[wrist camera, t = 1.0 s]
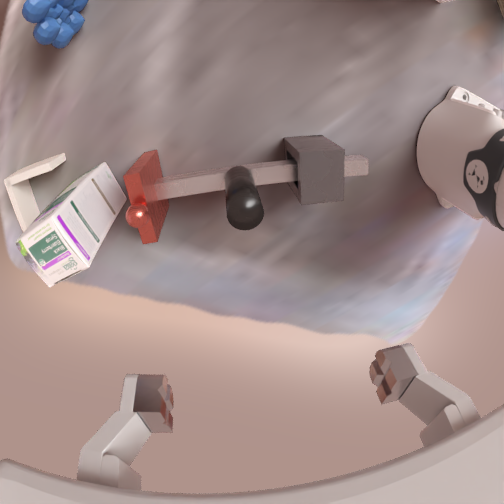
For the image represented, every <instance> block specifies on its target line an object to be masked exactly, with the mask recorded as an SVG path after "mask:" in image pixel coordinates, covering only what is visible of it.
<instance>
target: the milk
mask: <svg viewBox="0 0 504 504" xmlns="http://www.w3.org/2000/svg"><path fill="white" fill-rule="evenodd" d="M436 1H438V2H439V3H444V2H449V1H454V0H436Z"/></svg>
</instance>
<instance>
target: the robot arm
mask: <svg viewBox="0 0 504 504" xmlns="http://www.w3.org/2000/svg"><path fill="white" fill-rule="evenodd" d="M417 163H418V168H419V171H420V174H421V176H422V178H423V180H424V181H425V183H426V184H427V185H428V186H429V187H430V188H431V189H432V190H433V191H434V192H435V193H436V195H437V198H438V201H439V203H440V205H441V206H443V207H444V208H451V207H454V206H455V207H456V208H458V209H460V210H461V211H463V212H464V213H466V214H467V215H469V216H470V217H472V218H474V219H476V220H478V219H479V218H486V219H487V220H488V222H490V223H491V224H492V225H493V226H495V227H498V228H499V229H501V230H502V231H504V110H503V109H498V108H497V107H495V106H494V105H492V104H490V103H489V102H487V101H485V100H483V99H482V98H480V97H478V96H476V95H474V94H473V93H471V92H469V91H467V90H465V89H463V88H461V87H459V86H453V87H452V88H451V89H450V90H449V92H448V94H447V96H446V98H445V99H444V100H443V101H442V102H441V103H440V104H438V105H437V106H436V107H435V108H433V109H432V110H431V112H430V113H429V114H428V115H427V117H426V119H425V120H424V122H423V124H422V127H421V129H420V132H419V136H418V142H417ZM375 357H376V359H375V360H374V361H373V362H372V363H371V366H370V378H371V380H372V383H373V384H374V385H376V386H377V387H378V388H377V391H376V392H377V395H378V397H379V399H380V402H381V404H385V403H389V402H393V401H397V400H399V402H400V403H402V404H403V405H404V406H405V407H406V408H408V409H409V410H410V411H411V412H412V413H413V414H415V415H416V416H417V417H418V418H419V419H421V420H422V421H423V422H424V423H425V424H426V425H428V426H427V427H426V428H425V429H424V430H423V431H421V433H420V438H421V440H422V442H423V445H424V447H423V448H421V449H418V450H416V451H413V452H411V453H408V454H406V455H403V456H401V457H398V458H395V459H393V460H390V461H387V462H384V463H382V464H378V465H376V466H373V467H369V468H366V469H363V470H359V471H356V472H352V473H349V474H345V475H341V476H337V477H333V478H329V479H325V480H320V481H315V482H311V483H305V484H300V485H294V486H289V487H283V488H275V489H267V490H258V491H248V492H235V493H213V494H183V493H163V492H149V491H141V476H140V475H139V474H138V473H137V472H136V471H134V470H133V469H132V468H131V467H129V466H130V465H131V463H132V462H133V460H134V459H135V457H136V456H137V454H138V453H139V452H140V450H141V449H142V447H143V446H144V444H145V443H146V441H147V440H148V438H149V437H150V435H151V433H153V432H154V433H172V429H173V428H172V427H173V417H172V415H171V413H170V411H171V410H172V409H173V393H172V389H171V386H170V385H168V384H167V383H168V379H167V377H166V375H140V374H127V375H126V376H125V378H124V384H123V389H122V395H121V401H120V408H119V411H115V412H114V413H113V414H112V416H111V417H110V418H109V419H108V420H107V421H106V422H105V423H104V424H103V425H102V427H101V428H100V429H99V430H98V431H97V432H96V433H95V434H94V436H93V437H92V438H91V439H90V440H89V441H88V442H87V443H86V444H85V446H84V447H83V448H82V449H81V453H80V459H79V466H78V473H77V480H75V479H71V478H67V477H63V476H60V475H56V474H52V473H49V472H45V471H42V470H39V469H36V468H33V467H30V466H27V465H24V464H21V463H19V462H16V461H14V460H11V459H3V460H1V461H0V504H504V404H503V405H501V406H500V407H498V408H497V409H495V410H493V411H492V412H490V413H489V414H487V415H485V416H484V417H482V418H480V416H479V414H478V412H477V410H476V408H475V406H474V404H473V402H472V400H471V398H470V396H469V395H468V394H466V393H464V392H463V391H461V390H460V389H458V388H456V387H455V386H453V385H452V384H450V383H448V382H447V381H445V380H444V379H442V378H441V377H439V376H437V375H436V374H434V373H433V372H431V371H430V372H428V371H427V369H426V367H425V366H424V364H423V362H422V360H421V358H420V357H419V355H418V353H417V352H416V350H415V348H414V346H413V345H412V344H411V343H406V344H403V345H398V346H394V347H390V348H386V349H382V350H379V351H377V353H376V355H375Z"/></svg>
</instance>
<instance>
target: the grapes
mask: <svg viewBox="0 0 504 504" xmlns="http://www.w3.org/2000/svg"><path fill="white" fill-rule="evenodd" d="M87 2H88V0H26V2H25V3H24V6H23V9H22V14H23V17H24V18H25V19H26V20H27V21H29V22H31V23H37V24H36V26H35V28H34V31H33V36H34V38H35V39H36V40H37V42H38V43H40V44H42V45H48V44H52V45H53V46H54V47H56V48H58V49H59V48H64V47H65V46H67V45H68V44H69V42H70V41H71V39H72V37H73V35H74V34H76V33H77V32H78V31H79V30H80V29H81V27H82V25H83V23H84V21H85V20H84V18H83V17H82V15H81V14H80V13H78V12H80V11H81V10H83V8H84V7H85V6H86V4H87Z"/></svg>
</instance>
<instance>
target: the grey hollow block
mask: <svg viewBox="0 0 504 504" xmlns="http://www.w3.org/2000/svg"><path fill="white" fill-rule="evenodd" d="M284 144H285V160H292V159H295V160H296V161H297V165H298V181H291V182H288V184H289V186H290V187H291V189H292V191H293V192H294V194H295V195H296V197H297V199H298V200H299V202H300V204H301V205H306V204H315V203H324V202H334V201H343V200H344V163H345V149H343V148H341V147H340V146H338V145H337V144H335V143H334V142H332V141H331V140H329V139H327V138H326V137H324V136H323V135H314V136H298V137H286V138H284Z"/></svg>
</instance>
